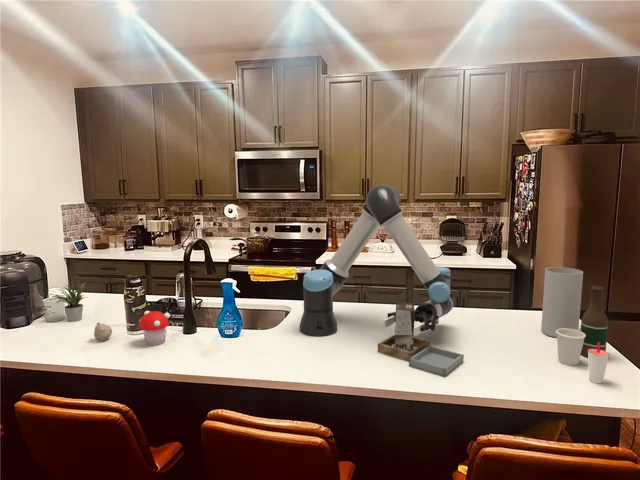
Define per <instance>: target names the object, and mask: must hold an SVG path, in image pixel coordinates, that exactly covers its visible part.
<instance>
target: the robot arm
mask: <svg viewBox="0 0 640 480" xmlns="http://www.w3.org/2000/svg"><path fill="white" fill-rule="evenodd" d="M365 200H366V201H365V202H364V204H363V205H362V207H361V212H362V213H361V215H360V216H359V217H358V219H357V220H356V222H355V224H354V225H353V227H352V228H351V229H350V230H349V232H348V234H347V235H346V237H344V238H345V239H344V240H343V241H342V243H341V244H340V245H339V247H338V248H337V250H336V251H335V253H334V255H333V256H332V257H331V259H329V258H328V259H326V260H325V261H324V262H323V264H322V265H321V267H320V269H313V270H309V271H307V272H306V273H305V274H304V275H303V282H302V285H303V286H302V287H303V313H302V317H301V318H300V319H301V320H300V323H299V333H301V334H304V335H306V336H309V337H310V336H311V337H312V336H313V337H324V336H330V335H333V334H335V333H337V331H338V322H337V321H336V316H335V313H334V306H333V305H334V299H333V298H334V296H335V295H336V294H337V293H338V292H340V290H341V289H342V288H343V287H344V286H343V285H344V283H345V282H346V280H347V279H348V278H349V275H350V274H349V270H350V268H351V267H352V265H353V264H354V263H355V262H356V260H357V258H358V257H359V256H360V254H361V253H362V251H363V250H364V249H365V247H366V246H367V244H368V243H369V241H370V240H371V239H372V237H373V236H374V235H375V233H376V232H377V230H378V229H379V227H383V228H385V230H386V231H387V233H388V234H389V236H390V237H391V239H392V240H393V241H394V244H395V245H396V246H397V248H398V249H399V251H400V252H401V253H402V255H403V256H404V258H405V259H406V261H407V262H408V264H409V266H410V267H411V268H412V270H413V271H414V273H415V274H416V276H417V277H418V279H419V280H420V281H421V283H422V285H423V286H424V288H425V290H427V294H428V297H429V300H428V301H425V302H423V303H422V304H420V305H418V306H417V307H416V308H414V309H415V317H414V323H415V322H417V323H418V322H419V324H418V325H414V337H416V336H417V335H419V334H421V333H424V332H426V331H429V330H430V332H435V331H436V328H437V325H438V324H439V321H440V319H439V318H442V317H444V316H446V315H448V314H449V313H450V312H451V311H452V310H453V308H454V302H453V299H452V298H451V297H450V295H451V291H452V290H451V270H450V268H448V267H445V266H436V264H435V263H434V261H433V259H432V258H431V257H430V255H429V253H428V252H427V251H426V249H425V247H424V246H423V244H422V243H421V242H420V240H419V239H418V237H417V236H416V235H415V232H414V231H413V230H412V229H411V227H410V225H409V224H408V222H407V221H406V220H405V219H404V217H403V210H402V209H401V207H400V204H401V196H400V193H399V191H398V190H397V189H396V188H395V187H394V186H392V185H391V184H381V185H380V184H378V185H376V186H374V187H372V188H371V189H370V190H369V191H368V193H367V195H366V199H365ZM395 318H396V311H393V312H388V313H387V318H385V319H383V320H382V321H383V323H382V327H383V328H384V329H385V328H386V329H387V328H388V327H390V326H392V325H395Z"/></svg>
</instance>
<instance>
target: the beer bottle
mask: <svg viewBox="0 0 640 480" xmlns="http://www.w3.org/2000/svg"><path fill="white" fill-rule="evenodd" d="M590 290H591V291H590V298H589V299H590V300H589V305H588V309H587V310H586V311H585V312H584V313H583V314H582V316H581V321H580V328H579V329H580V330H579V331H581V332H583V333H584V334H585V335H586V337H585V338H584V342H583V346H582V350H581V355H580V356H583V357H584V358H587V359H588V349H597V343H598V342H600V350H603V351H606V352H607V342H608V338H607V337H608V331H609V319H608V317H607V314H606V312H605V311H604V307H603V305H604V299H603V298H604V291H605V288H604V287H603V286H601V285H592V286H591V287H590Z"/></svg>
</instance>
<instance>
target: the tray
mask: <svg viewBox="0 0 640 480" xmlns="http://www.w3.org/2000/svg"><path fill="white" fill-rule="evenodd" d="M464 356H465V355H464V354H462V353H459V352H455V351H451V350H447V349H443V348H441V347H436V346H432V345H430V346H428V347H426V348H425V349H423V350H422V351H420V352H419V353H417V354H416V355H414V356H413V357H411V358H409V361H408V367H410V368H414V369H418V370H420V371H424V372H426V373H430V374H433V375H438V376H440V377H444V378H446V377H447V376H448V375H450V373H452V372H453V371H454V370H456V369H457V368H458V367H459V366H460V365H462V364H463V363H464V358H465V357H464Z"/></svg>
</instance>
